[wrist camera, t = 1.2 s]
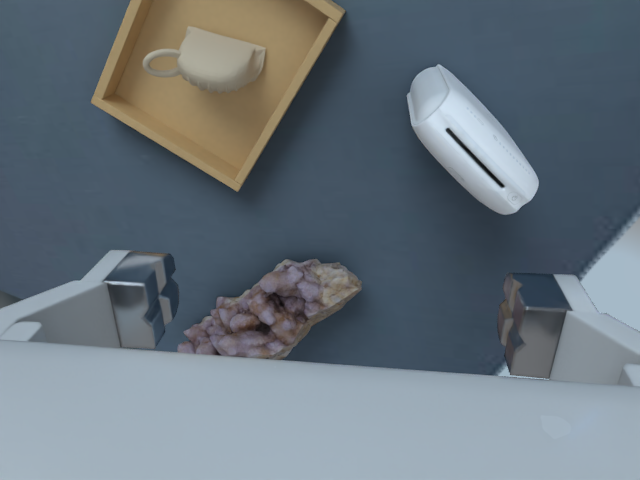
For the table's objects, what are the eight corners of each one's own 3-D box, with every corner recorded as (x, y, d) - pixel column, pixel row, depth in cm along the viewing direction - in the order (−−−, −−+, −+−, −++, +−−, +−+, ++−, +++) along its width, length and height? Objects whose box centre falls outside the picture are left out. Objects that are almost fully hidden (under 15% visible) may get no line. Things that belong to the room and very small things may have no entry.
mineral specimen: (236, 411, 57) (172, 419, 49) (200, 334, 62) (135, 328, 53) (383, 298, 52) (341, 283, 44) (332, 222, 57) (284, 196, 48)
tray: (185, -102, 40) (171, -106, 38) (346, 10, 42) (343, 13, 40) (105, 95, 48) (90, 102, 46) (245, 180, 50) (237, 192, 48)
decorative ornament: (257, 95, 46) (242, 111, 42) (165, 66, 46) (139, 79, 41) (268, 48, 44) (253, 59, 40) (171, 18, 44) (145, 25, 39)
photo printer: (518, 140, 46) (558, 196, 35) (478, 173, 47) (505, 236, 37) (437, 53, 43) (453, 84, 32) (398, 92, 45) (401, 133, 34)
